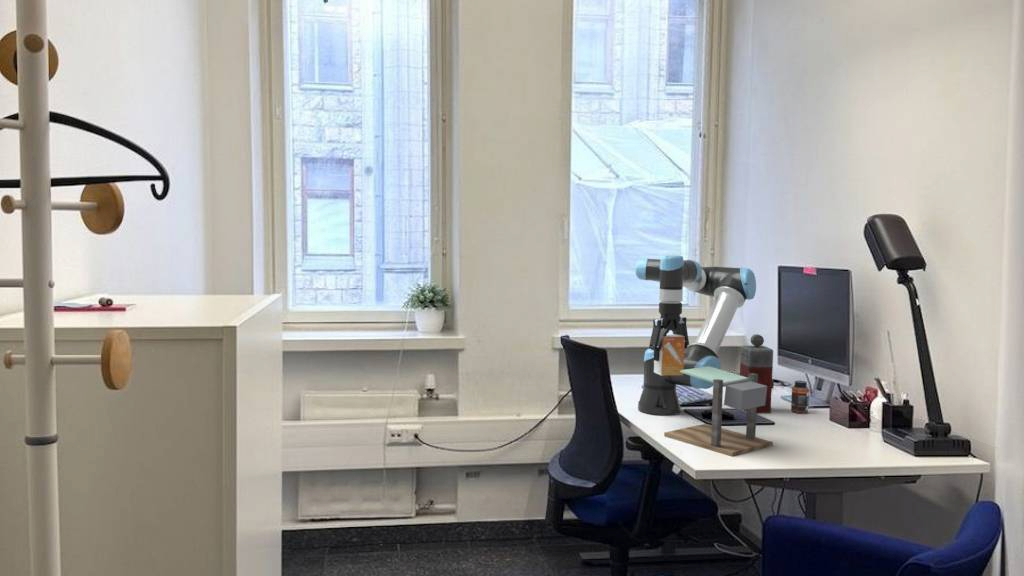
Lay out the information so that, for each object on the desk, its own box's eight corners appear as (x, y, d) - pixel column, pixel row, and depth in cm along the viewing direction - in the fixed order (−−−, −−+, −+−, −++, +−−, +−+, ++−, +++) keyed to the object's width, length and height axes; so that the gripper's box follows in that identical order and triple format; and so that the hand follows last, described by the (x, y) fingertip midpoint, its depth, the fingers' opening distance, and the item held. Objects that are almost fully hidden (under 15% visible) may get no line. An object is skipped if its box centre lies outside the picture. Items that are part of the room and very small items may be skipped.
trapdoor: (706, 385, 250) (708, 365, 249) (767, 404, 232) (769, 383, 231) (678, 390, 242) (680, 369, 241) (738, 410, 224) (740, 388, 223)
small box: (661, 376, 250) (662, 336, 249) (653, 372, 256) (654, 334, 255) (684, 375, 252) (685, 336, 251) (675, 371, 258) (676, 333, 257)
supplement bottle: (811, 413, 277) (813, 382, 276) (798, 414, 275) (799, 383, 275) (800, 409, 283) (802, 379, 282) (787, 410, 281) (788, 380, 280)
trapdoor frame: (705, 427, 255) (707, 364, 253) (772, 445, 234) (775, 377, 233) (664, 436, 243) (666, 370, 241) (731, 456, 222) (734, 384, 221)
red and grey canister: (759, 405, 288) (762, 332, 286) (771, 413, 277) (774, 336, 275) (736, 405, 287) (738, 332, 285) (746, 413, 276) (749, 336, 274)
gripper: (684, 299, 262) (682, 363, 264) (638, 302, 249) (636, 370, 251) (701, 301, 256) (699, 367, 258) (655, 304, 243) (654, 374, 245)
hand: (668, 368), depth 254 cm, fingers closed on small box, 10 cm apart
